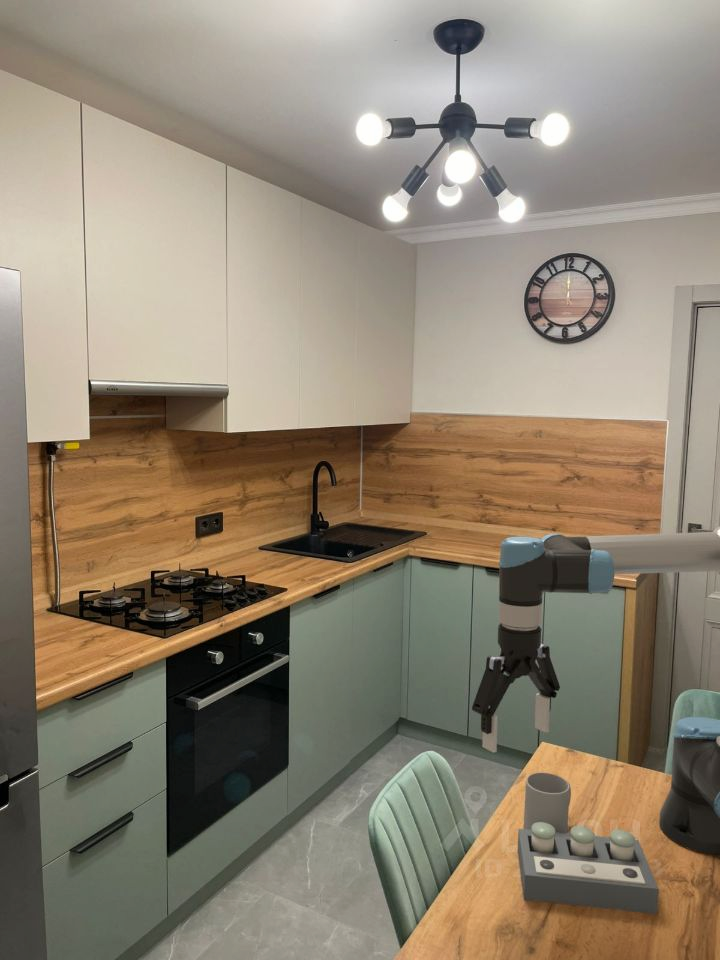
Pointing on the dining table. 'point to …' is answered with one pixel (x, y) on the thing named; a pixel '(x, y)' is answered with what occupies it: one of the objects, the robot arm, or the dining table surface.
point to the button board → (582, 888)
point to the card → (588, 870)
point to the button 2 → (621, 845)
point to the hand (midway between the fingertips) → (516, 739)
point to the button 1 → (542, 838)
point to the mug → (547, 801)
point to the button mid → (582, 841)
